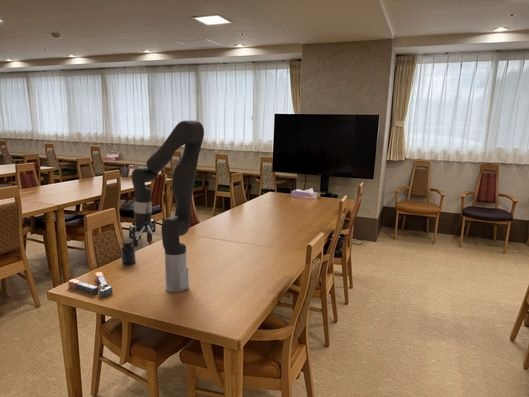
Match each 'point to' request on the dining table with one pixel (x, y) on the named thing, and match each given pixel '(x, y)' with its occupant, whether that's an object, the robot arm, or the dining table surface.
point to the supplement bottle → (128, 253)
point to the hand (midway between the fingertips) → (142, 244)
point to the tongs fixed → (90, 288)
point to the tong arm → (101, 279)
